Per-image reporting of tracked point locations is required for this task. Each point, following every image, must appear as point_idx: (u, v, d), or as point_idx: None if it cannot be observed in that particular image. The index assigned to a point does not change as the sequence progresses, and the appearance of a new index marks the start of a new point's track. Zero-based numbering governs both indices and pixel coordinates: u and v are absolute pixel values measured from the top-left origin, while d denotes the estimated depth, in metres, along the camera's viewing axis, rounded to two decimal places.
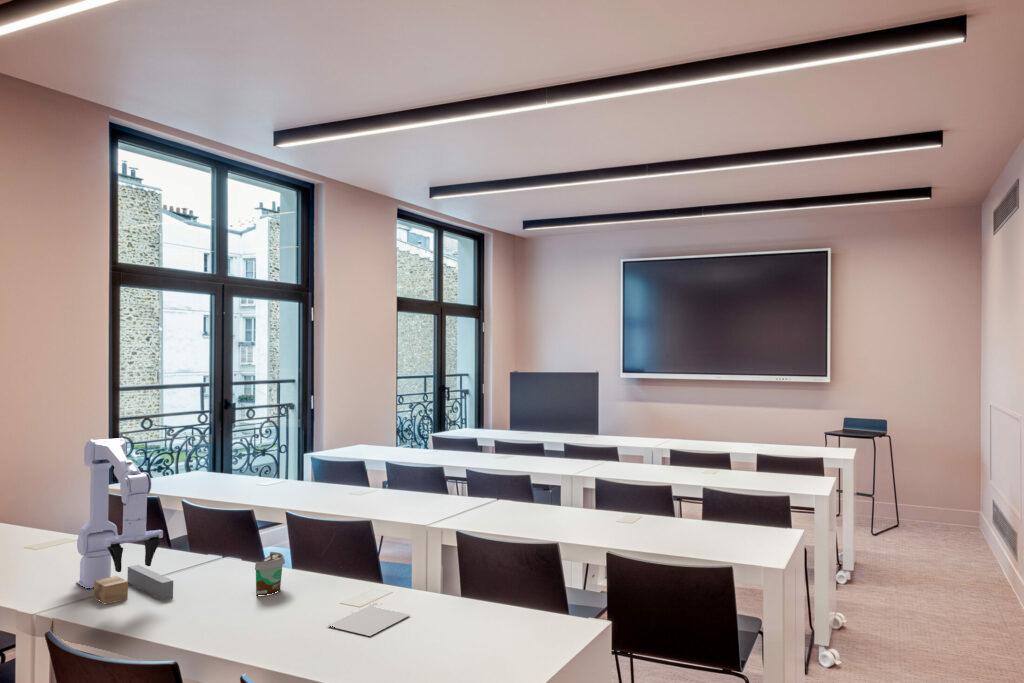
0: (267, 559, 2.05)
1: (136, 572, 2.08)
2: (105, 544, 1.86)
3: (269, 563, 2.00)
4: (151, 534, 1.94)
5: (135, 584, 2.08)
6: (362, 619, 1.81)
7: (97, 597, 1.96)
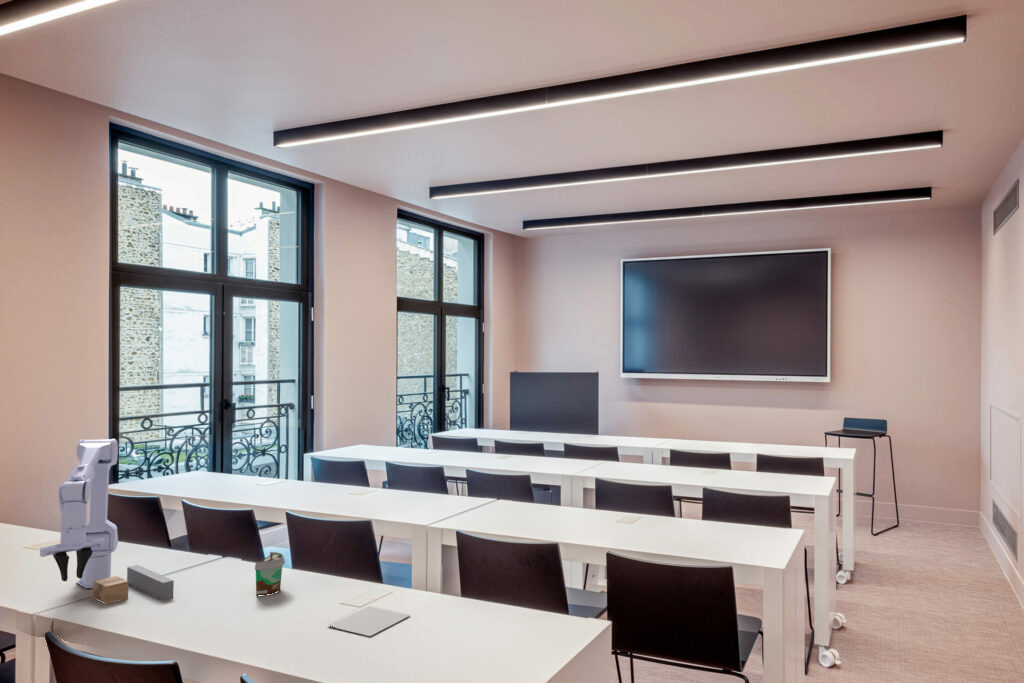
0: (267, 559, 2.05)
1: (136, 572, 2.08)
2: (41, 554, 1.79)
3: (269, 563, 2.00)
4: (91, 543, 1.86)
5: (135, 584, 2.08)
6: (363, 619, 1.81)
7: (97, 597, 1.96)
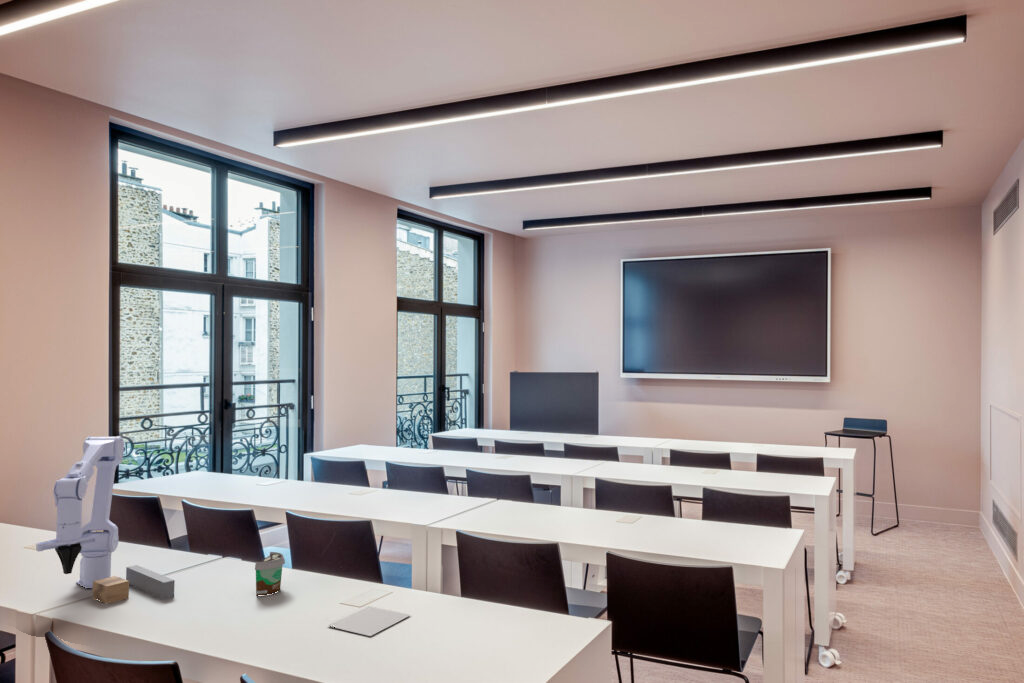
0: (267, 559, 2.05)
1: (135, 572, 2.08)
2: (37, 549, 1.84)
3: (269, 563, 2.00)
4: (86, 538, 1.91)
5: (134, 584, 2.08)
6: (363, 619, 1.81)
7: (97, 597, 1.95)
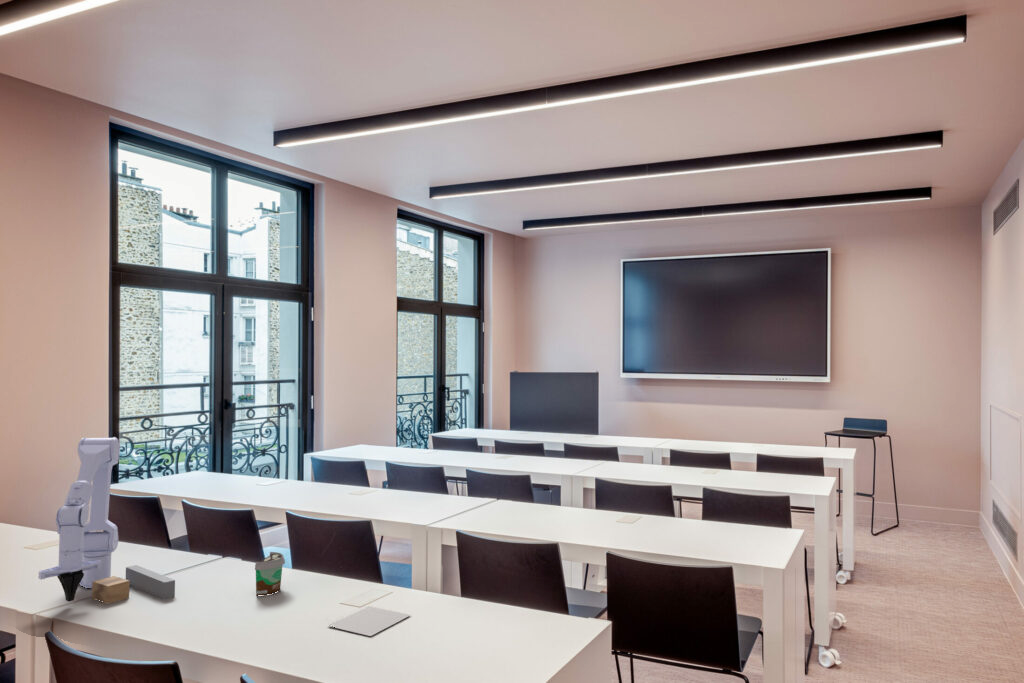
0: (267, 559, 2.05)
1: (135, 572, 2.07)
2: (39, 576, 1.84)
3: (269, 563, 2.00)
4: (88, 565, 1.92)
5: (134, 584, 2.08)
6: (363, 619, 1.81)
7: (97, 597, 1.95)
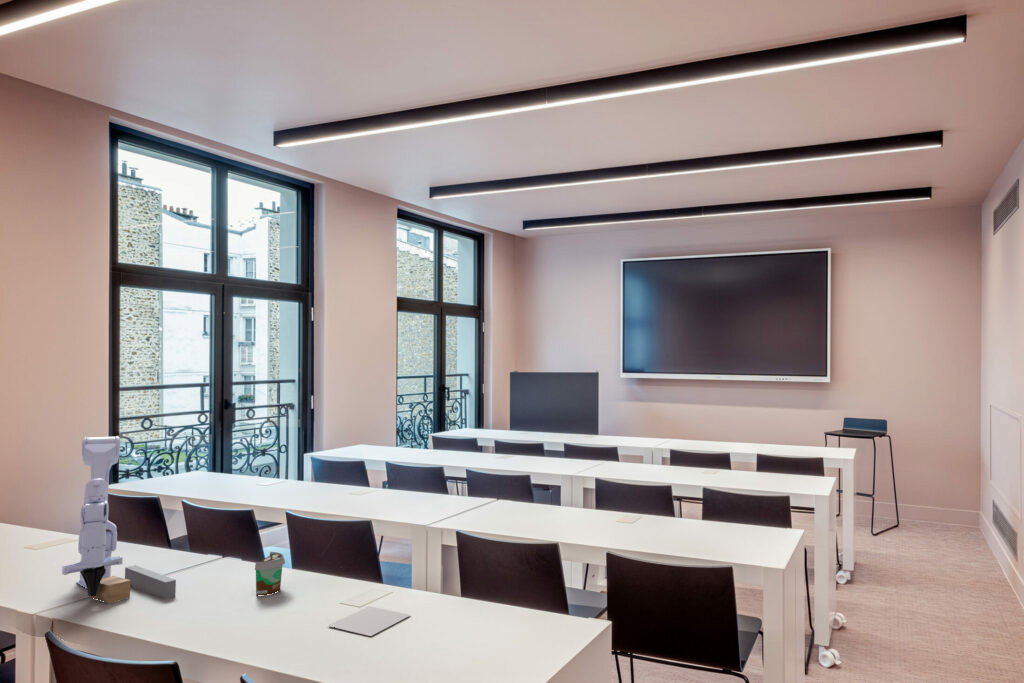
0: (267, 559, 2.05)
1: (135, 572, 2.07)
2: (63, 572, 1.89)
3: (269, 563, 2.00)
4: (110, 561, 1.96)
5: (134, 584, 2.08)
6: (363, 619, 1.81)
7: (98, 597, 1.95)
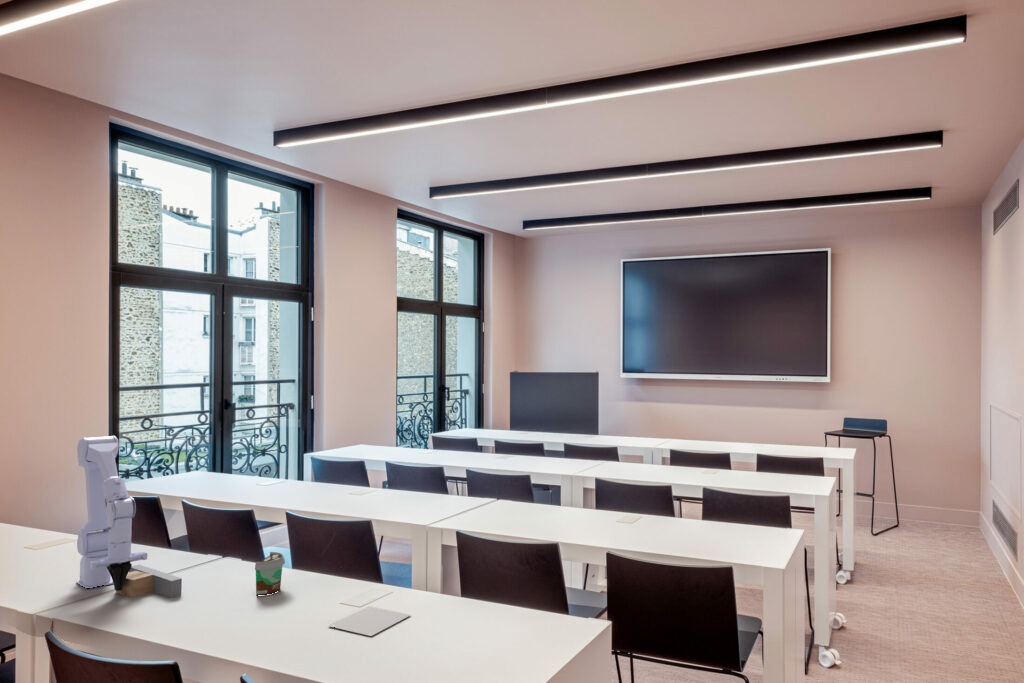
0: (267, 559, 2.05)
1: (139, 571, 2.08)
2: (91, 567, 1.94)
3: (269, 563, 2.00)
4: (136, 556, 2.01)
5: None
6: (363, 619, 1.81)
7: (122, 591, 2.01)
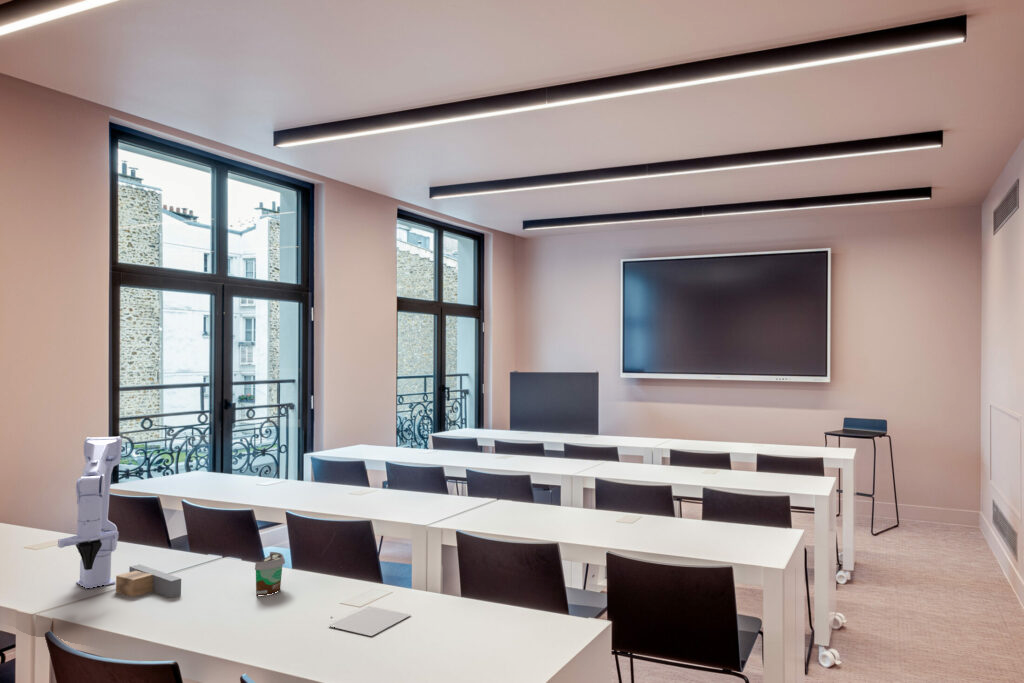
0: (267, 559, 2.05)
1: (140, 571, 2.08)
2: (59, 545, 1.88)
3: (269, 563, 2.00)
4: (106, 535, 1.95)
5: None
6: (363, 619, 1.81)
7: (122, 591, 2.01)
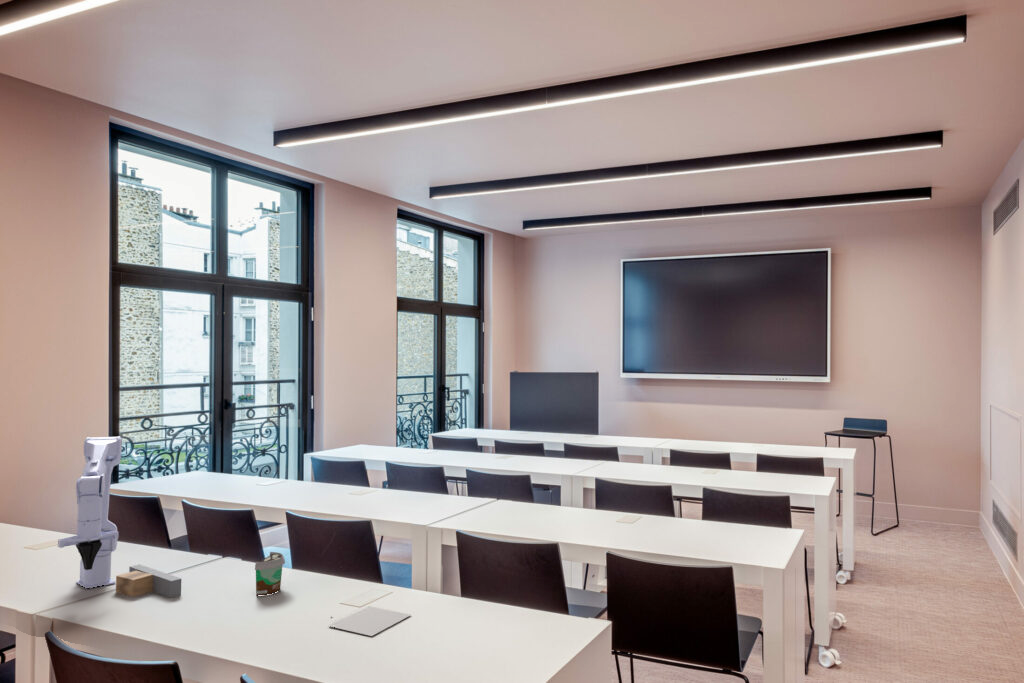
0: (267, 559, 2.05)
1: (140, 571, 2.08)
2: (59, 545, 1.88)
3: (269, 563, 2.00)
4: (106, 535, 1.95)
5: None
6: (363, 619, 1.81)
7: (122, 591, 2.01)
